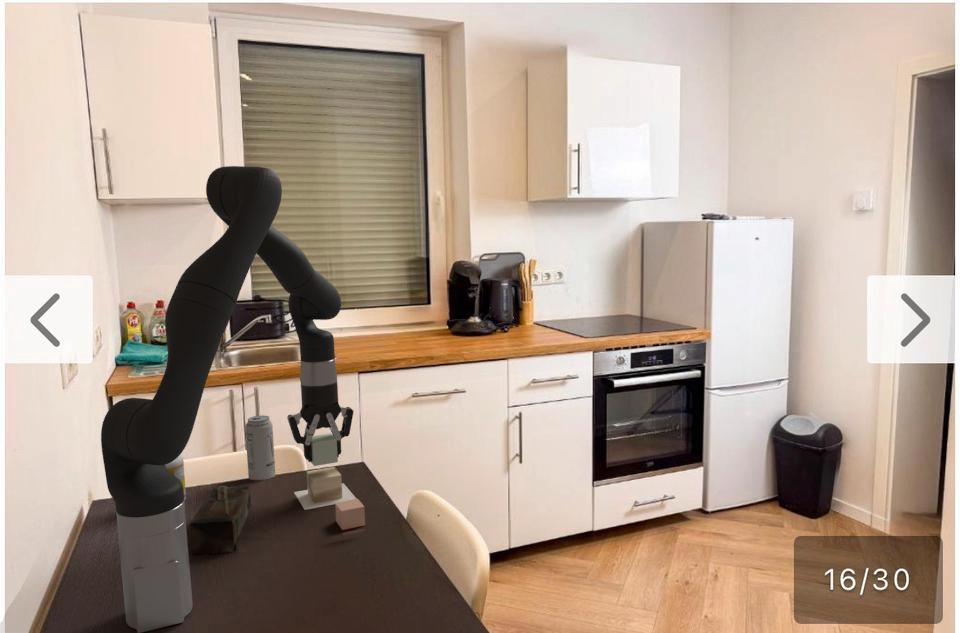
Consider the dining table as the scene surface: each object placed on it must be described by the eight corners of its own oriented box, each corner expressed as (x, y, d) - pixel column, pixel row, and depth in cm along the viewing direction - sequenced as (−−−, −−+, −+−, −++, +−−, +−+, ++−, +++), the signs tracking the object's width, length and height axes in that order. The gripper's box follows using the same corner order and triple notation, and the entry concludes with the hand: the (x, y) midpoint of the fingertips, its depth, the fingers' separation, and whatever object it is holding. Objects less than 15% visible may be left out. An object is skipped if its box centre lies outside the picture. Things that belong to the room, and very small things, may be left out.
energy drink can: (274, 483, 158) (270, 420, 157) (247, 486, 157) (243, 422, 155) (276, 475, 164) (273, 414, 162) (250, 477, 163) (246, 415, 161)
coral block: (365, 531, 132) (364, 506, 131) (342, 536, 130) (341, 511, 129) (358, 522, 136) (357, 498, 135) (336, 527, 134) (335, 503, 133)
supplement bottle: (145, 507, 146) (140, 448, 145) (168, 495, 153) (163, 439, 151) (171, 510, 144) (166, 451, 143) (193, 498, 151) (188, 441, 149)
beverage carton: (253, 511, 143) (251, 481, 142) (235, 554, 124) (233, 519, 123) (213, 515, 142) (211, 484, 141) (189, 558, 123) (186, 523, 122)
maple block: (342, 497, 146) (341, 475, 145) (314, 503, 143) (312, 480, 143) (335, 488, 151) (334, 466, 150) (307, 493, 148) (306, 471, 148)
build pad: (357, 504, 145) (357, 499, 145) (304, 515, 140) (304, 509, 140) (343, 488, 155) (343, 483, 154) (294, 497, 150) (293, 492, 150)
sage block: (337, 462, 145) (336, 439, 144) (314, 466, 143) (312, 442, 142) (331, 455, 149) (330, 433, 149) (308, 459, 147) (307, 436, 147)
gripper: (287, 388, 138) (292, 469, 140) (357, 379, 144) (360, 458, 146) (280, 381, 144) (285, 459, 146) (347, 373, 150) (351, 448, 153)
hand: (323, 458), depth 146 cm, fingers closed on sage block, 5 cm apart
